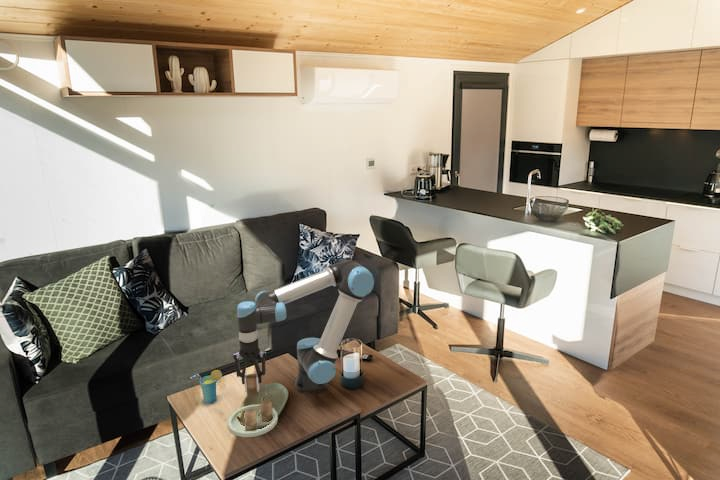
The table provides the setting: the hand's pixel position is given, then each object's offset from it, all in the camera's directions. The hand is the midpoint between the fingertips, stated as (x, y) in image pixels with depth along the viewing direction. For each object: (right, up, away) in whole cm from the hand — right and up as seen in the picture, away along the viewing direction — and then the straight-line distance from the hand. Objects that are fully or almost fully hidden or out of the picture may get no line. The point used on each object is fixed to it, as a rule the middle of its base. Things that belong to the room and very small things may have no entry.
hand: (252, 390), depth 207 cm
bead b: (+1, -14, -8) cm, 16 cm away
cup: (-23, -10, +14) cm, 28 cm away
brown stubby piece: (0, -2, 0) cm, 2 cm away
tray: (+1, -13, -3) cm, 13 cm away
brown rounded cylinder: (+7, -12, -2) cm, 14 cm away
